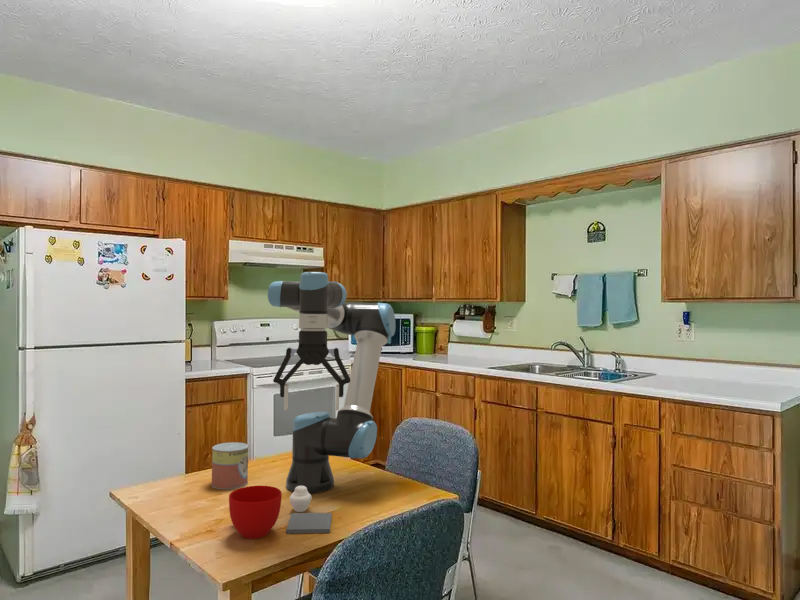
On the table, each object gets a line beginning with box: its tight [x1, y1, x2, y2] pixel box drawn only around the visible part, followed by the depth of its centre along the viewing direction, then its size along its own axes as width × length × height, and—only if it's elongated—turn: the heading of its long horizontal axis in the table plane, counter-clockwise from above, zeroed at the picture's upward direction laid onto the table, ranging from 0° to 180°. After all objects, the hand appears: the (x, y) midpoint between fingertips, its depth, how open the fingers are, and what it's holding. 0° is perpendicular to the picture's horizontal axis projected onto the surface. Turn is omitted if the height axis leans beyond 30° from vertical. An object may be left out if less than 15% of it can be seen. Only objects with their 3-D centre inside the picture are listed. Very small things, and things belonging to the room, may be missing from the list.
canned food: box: [210, 441, 249, 490], centre depth 176 cm, size 11×11×12 cm
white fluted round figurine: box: [289, 486, 312, 513], centre depth 155 cm, size 6×6×7 cm
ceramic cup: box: [228, 485, 282, 540], centre depth 140 cm, size 13×17×10 cm
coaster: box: [285, 512, 333, 535], centre depth 144 cm, size 11×11×1 cm
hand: (311, 409), depth 145 cm, fingers open, 13 cm apart
